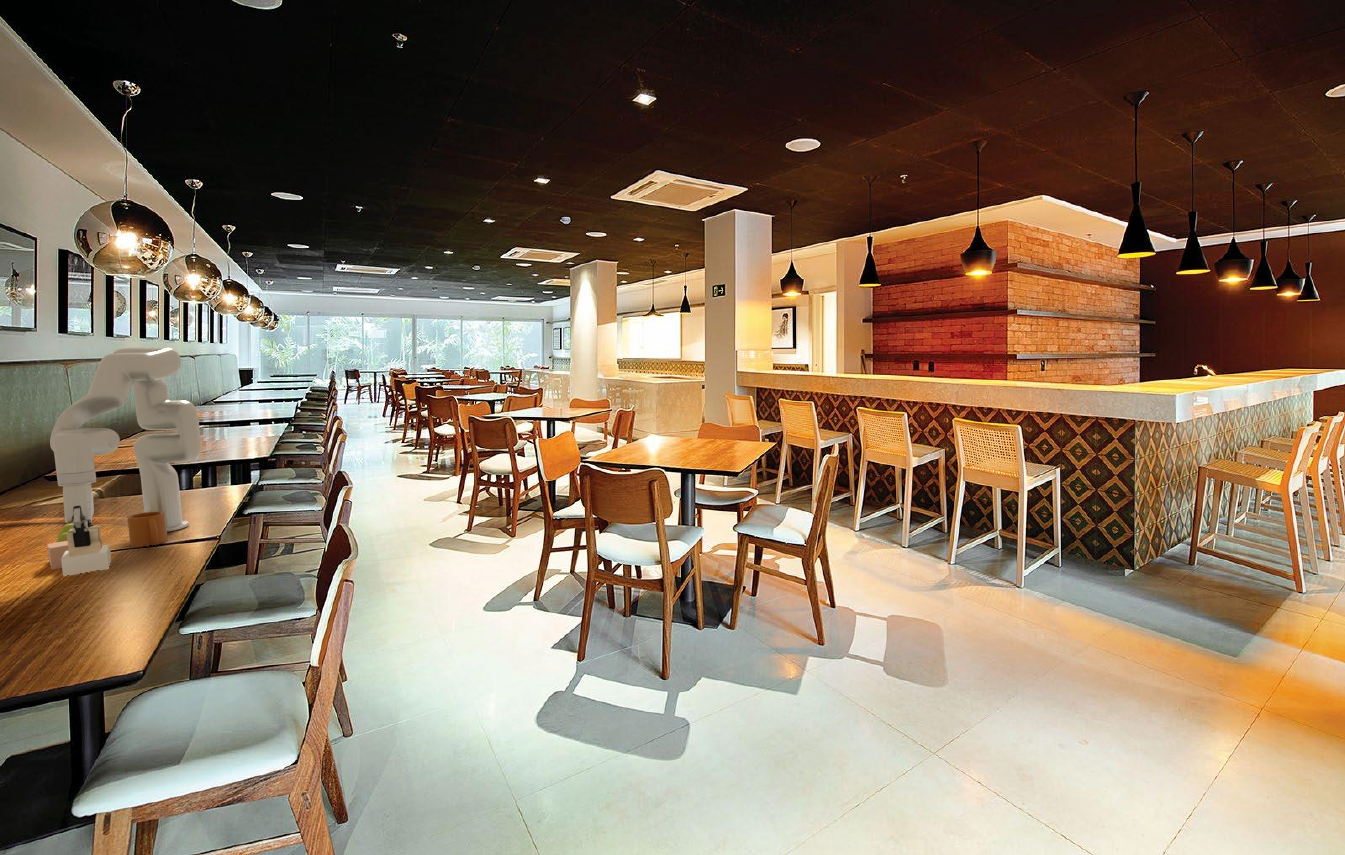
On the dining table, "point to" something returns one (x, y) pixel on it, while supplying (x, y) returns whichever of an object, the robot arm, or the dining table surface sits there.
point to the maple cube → (94, 547)
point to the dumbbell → (64, 532)
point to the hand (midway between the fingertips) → (84, 542)
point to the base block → (86, 561)
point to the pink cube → (56, 553)
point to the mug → (147, 529)
